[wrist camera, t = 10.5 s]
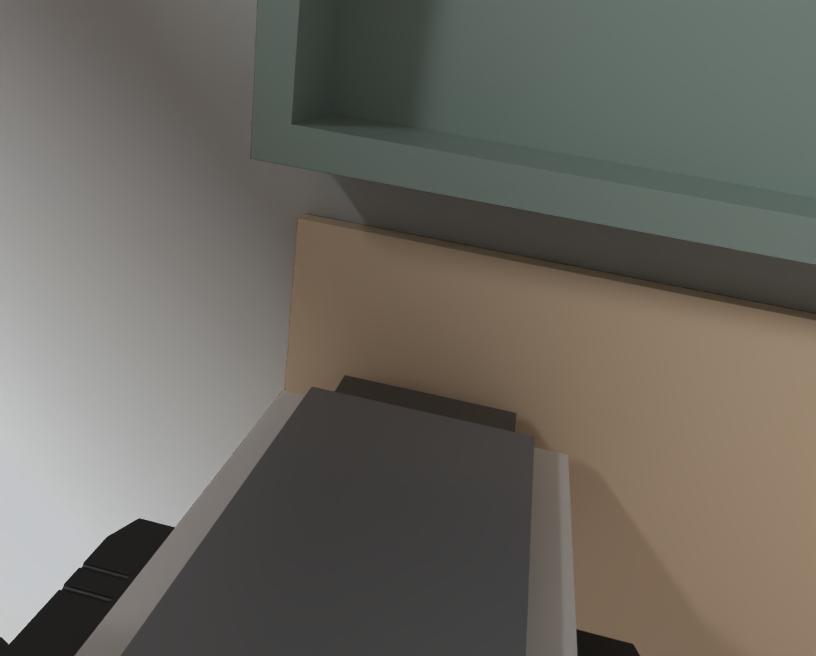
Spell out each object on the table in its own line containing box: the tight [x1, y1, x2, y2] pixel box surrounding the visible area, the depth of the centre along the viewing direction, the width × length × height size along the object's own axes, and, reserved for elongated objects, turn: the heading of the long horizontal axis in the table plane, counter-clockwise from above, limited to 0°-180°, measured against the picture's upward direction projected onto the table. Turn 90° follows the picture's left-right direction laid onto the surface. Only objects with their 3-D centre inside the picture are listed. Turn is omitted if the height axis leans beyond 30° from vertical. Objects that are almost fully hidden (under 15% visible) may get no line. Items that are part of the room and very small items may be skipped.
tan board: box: [284, 214, 816, 656], centre depth 15 cm, size 14×16×1 cm
